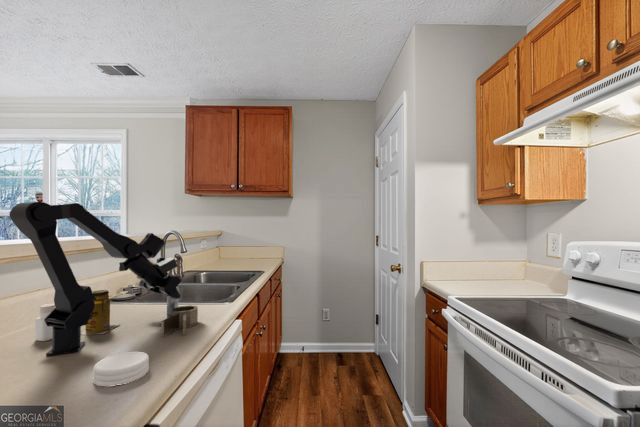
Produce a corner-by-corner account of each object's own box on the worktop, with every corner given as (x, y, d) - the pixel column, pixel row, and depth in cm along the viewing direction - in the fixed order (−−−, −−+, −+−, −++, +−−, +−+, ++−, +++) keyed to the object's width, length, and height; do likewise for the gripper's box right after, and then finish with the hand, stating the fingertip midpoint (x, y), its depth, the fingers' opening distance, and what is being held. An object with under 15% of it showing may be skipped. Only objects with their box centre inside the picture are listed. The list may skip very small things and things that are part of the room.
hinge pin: (177, 317, 107) (178, 288, 107) (166, 318, 105) (166, 289, 106) (178, 314, 110) (178, 286, 110) (167, 315, 109) (167, 287, 109)
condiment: (77, 335, 91) (78, 294, 91) (97, 325, 99) (98, 288, 100) (103, 334, 91) (103, 293, 92) (120, 325, 100) (121, 287, 100)
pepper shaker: (42, 342, 85) (43, 307, 86) (34, 340, 87) (34, 306, 87) (59, 337, 89) (60, 304, 89) (50, 335, 90) (51, 303, 91)
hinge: (198, 333, 91) (198, 316, 91) (160, 339, 87) (160, 321, 87) (197, 319, 105) (197, 304, 105) (164, 323, 101) (164, 307, 101)
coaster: (80, 389, 61) (81, 371, 61) (114, 366, 71) (114, 350, 71) (131, 388, 61) (131, 370, 61) (157, 365, 71) (157, 350, 71)
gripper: (176, 251, 100) (206, 280, 108) (149, 249, 111) (178, 275, 119) (150, 279, 93) (184, 308, 102) (124, 273, 104) (157, 300, 113)
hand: (176, 296), depth 109 cm, fingers closed on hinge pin, 4 cm apart
